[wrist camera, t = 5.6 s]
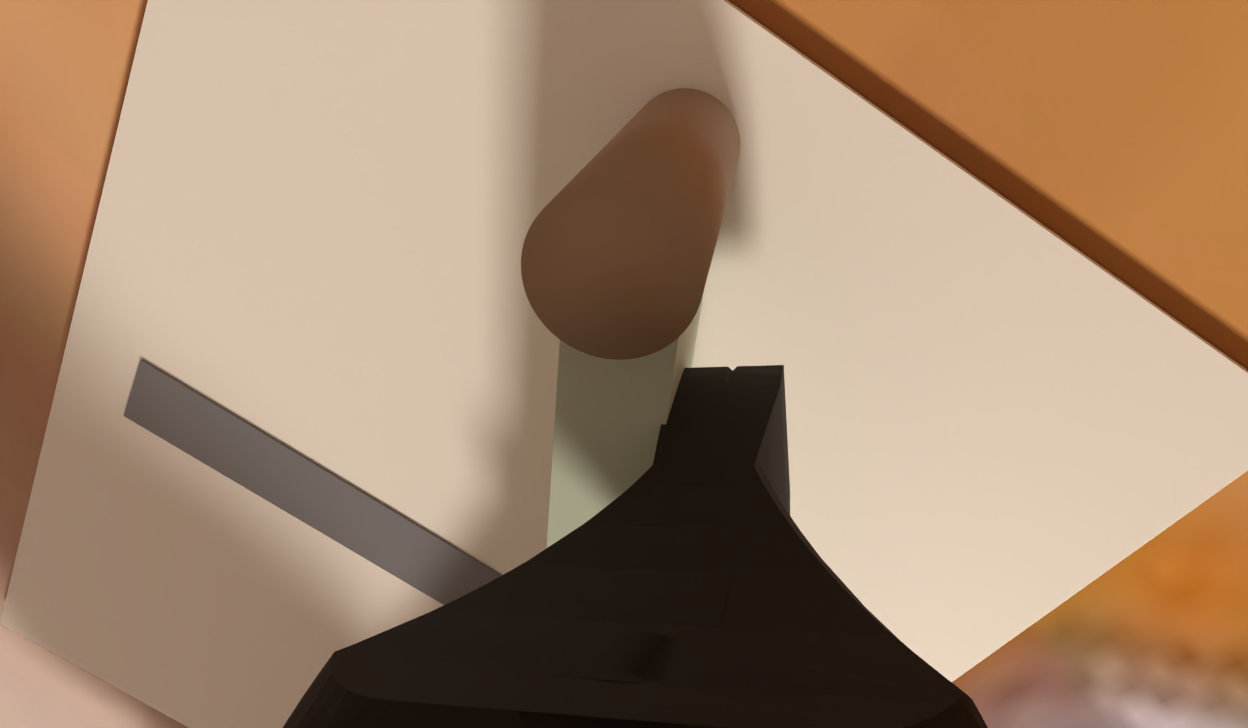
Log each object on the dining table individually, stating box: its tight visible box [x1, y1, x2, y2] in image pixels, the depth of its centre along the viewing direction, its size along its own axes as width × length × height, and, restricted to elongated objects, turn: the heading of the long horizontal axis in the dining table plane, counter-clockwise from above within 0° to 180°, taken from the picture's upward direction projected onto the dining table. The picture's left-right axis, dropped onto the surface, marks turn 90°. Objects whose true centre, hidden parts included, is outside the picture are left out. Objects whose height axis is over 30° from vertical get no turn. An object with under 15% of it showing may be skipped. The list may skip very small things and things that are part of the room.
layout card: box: [0, 0, 1248, 728], centre depth 16 cm, size 22×18×1 cm
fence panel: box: [521, 88, 740, 548], centre depth 11 cm, size 11×2×5 cm, turn 175°
